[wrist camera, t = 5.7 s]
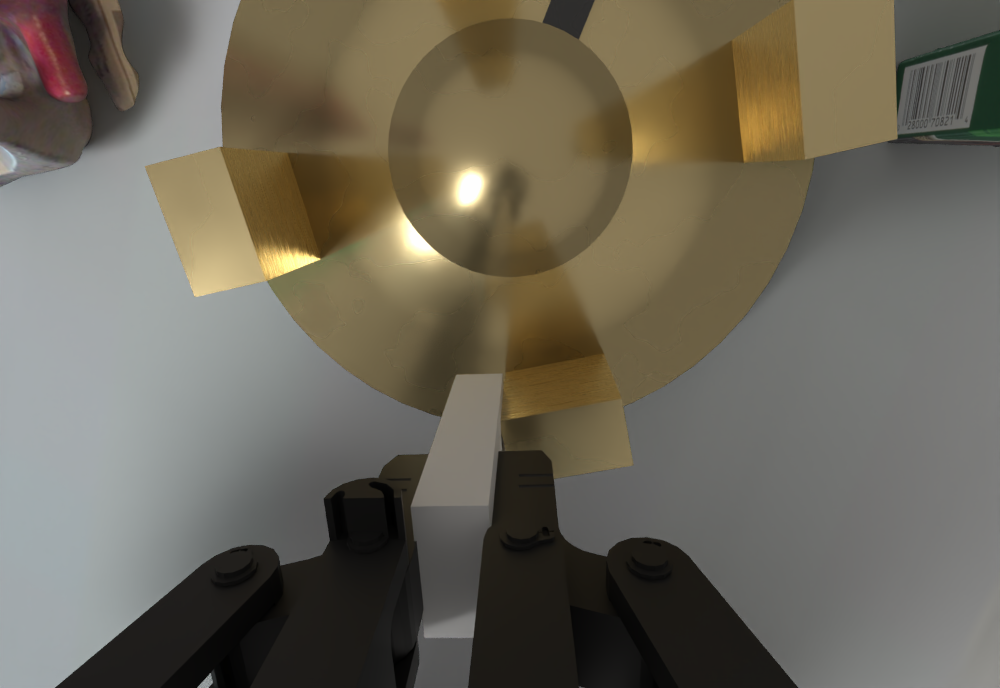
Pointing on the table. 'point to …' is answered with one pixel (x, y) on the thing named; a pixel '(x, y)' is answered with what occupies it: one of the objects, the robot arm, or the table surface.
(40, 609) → the table surface
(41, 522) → the table surface
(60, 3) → the brake caliper
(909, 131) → the coffee box
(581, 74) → the brass finned hub
